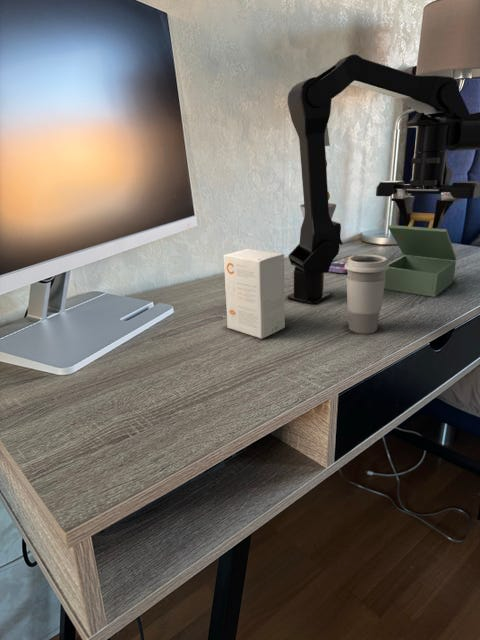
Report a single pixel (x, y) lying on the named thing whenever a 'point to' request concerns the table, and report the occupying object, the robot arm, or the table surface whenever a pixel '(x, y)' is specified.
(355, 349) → the table surface
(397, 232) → the box lid
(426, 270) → the desk box
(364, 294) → the cup
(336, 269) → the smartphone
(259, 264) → the small box
